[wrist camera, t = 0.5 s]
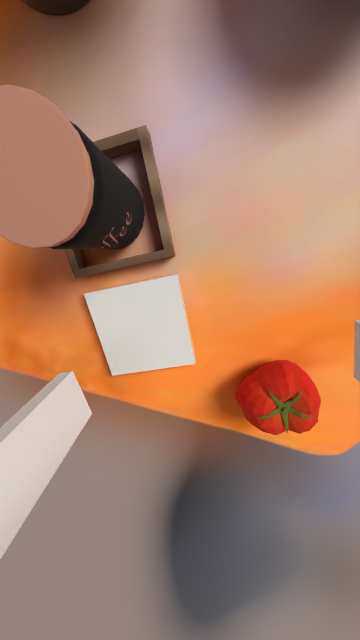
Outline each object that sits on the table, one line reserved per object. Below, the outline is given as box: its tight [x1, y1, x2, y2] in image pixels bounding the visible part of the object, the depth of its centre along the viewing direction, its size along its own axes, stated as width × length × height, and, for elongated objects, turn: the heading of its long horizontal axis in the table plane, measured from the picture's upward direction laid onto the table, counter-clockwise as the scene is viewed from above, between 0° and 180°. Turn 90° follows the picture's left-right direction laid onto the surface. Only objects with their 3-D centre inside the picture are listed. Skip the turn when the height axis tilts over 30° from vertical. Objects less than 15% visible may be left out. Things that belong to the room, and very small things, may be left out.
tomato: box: [235, 360, 321, 435], centre depth 36 cm, size 14×13×9 cm
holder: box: [65, 125, 175, 278], centre depth 32 cm, size 16×16×2 cm
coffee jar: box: [0, 84, 145, 249], centre depth 25 cm, size 11×11×18 cm
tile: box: [84, 273, 196, 376], centre depth 38 cm, size 16×16×2 cm
